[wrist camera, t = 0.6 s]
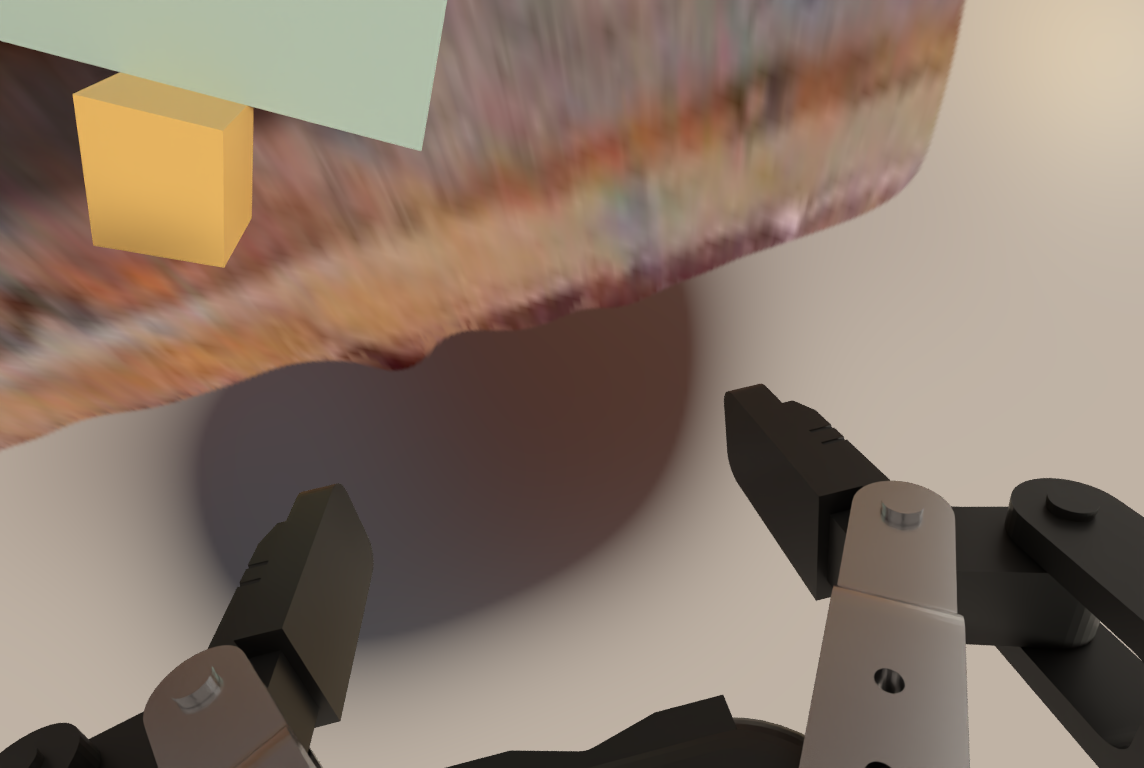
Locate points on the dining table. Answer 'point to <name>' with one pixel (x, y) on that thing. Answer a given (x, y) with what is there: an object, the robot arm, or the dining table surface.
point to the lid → (221, 99)
